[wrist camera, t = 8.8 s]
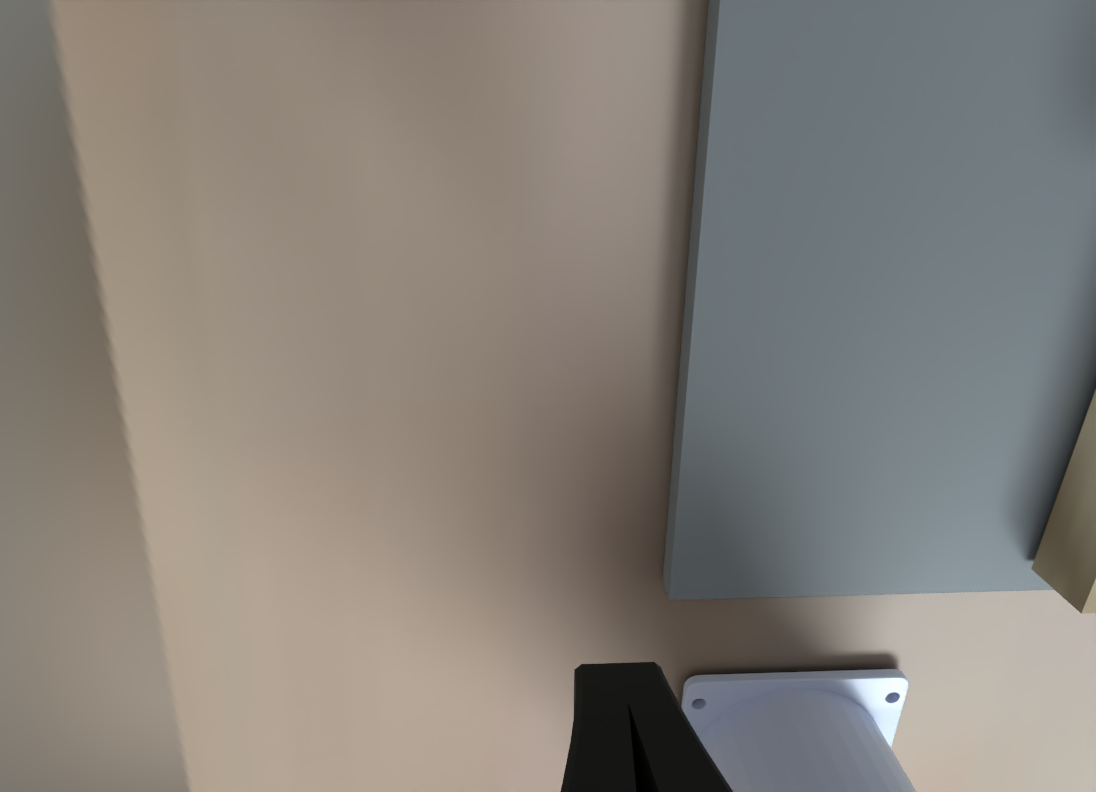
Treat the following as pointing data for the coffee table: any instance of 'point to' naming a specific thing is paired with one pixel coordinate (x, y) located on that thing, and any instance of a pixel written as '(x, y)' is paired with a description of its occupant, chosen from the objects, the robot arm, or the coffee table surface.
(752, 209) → the board
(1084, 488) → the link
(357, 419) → the coffee table surface
